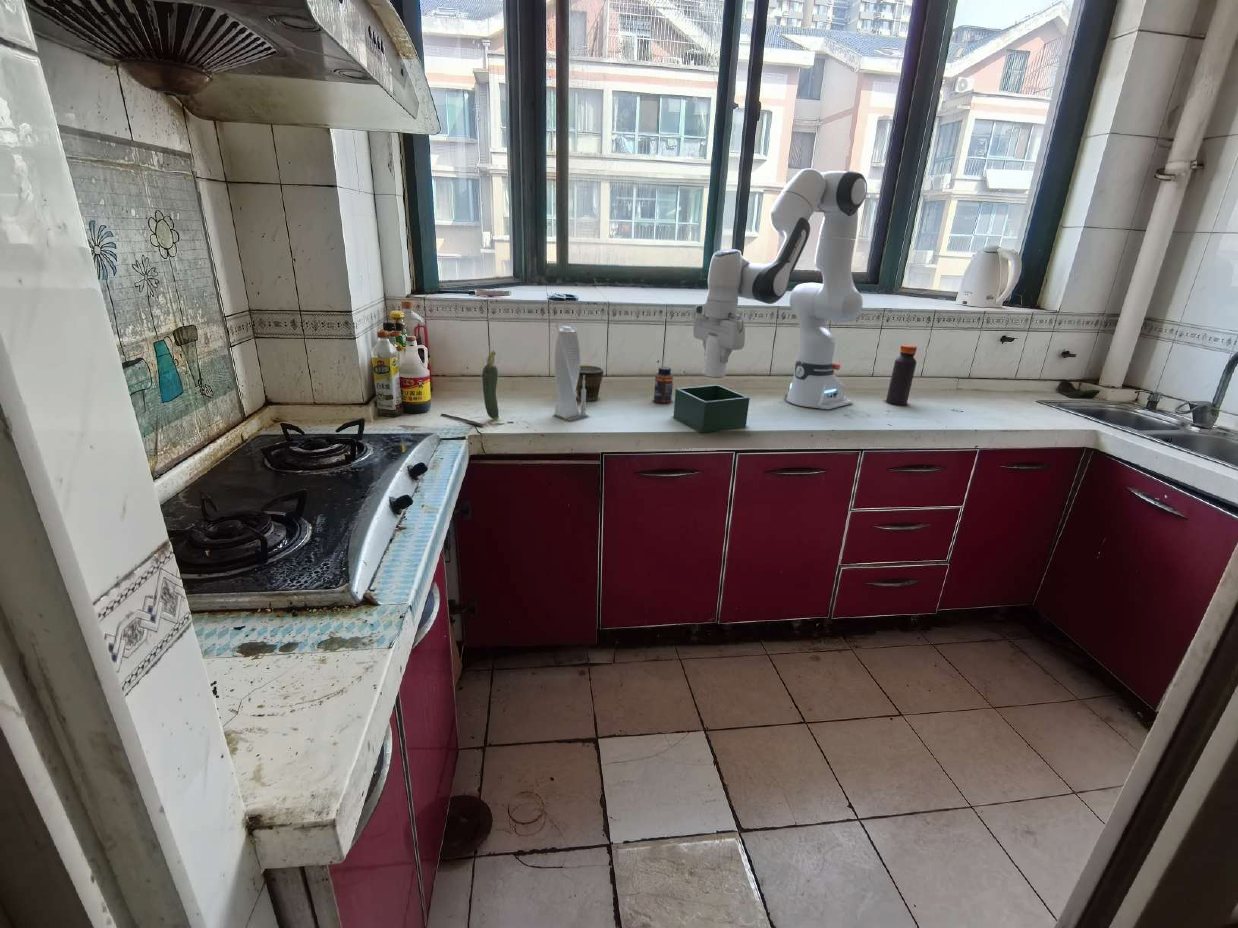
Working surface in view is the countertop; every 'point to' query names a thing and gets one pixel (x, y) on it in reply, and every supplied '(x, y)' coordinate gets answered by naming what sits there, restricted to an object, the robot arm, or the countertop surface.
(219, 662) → the countertop surface
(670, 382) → the supplement bottle
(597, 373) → the ceramic cup
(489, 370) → the vegetable
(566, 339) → the skyscraper
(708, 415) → the bin
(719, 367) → the can
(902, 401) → the vinegar
